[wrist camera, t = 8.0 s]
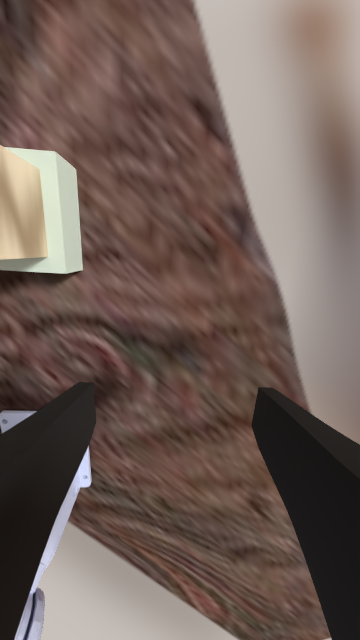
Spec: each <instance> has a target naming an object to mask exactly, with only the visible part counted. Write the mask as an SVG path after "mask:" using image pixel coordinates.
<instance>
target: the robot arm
mask: <svg viewBox="0 0 360 640" xmlns="http://www.w3.org/2000/svg"><path fill="white" fill-rule="evenodd" d="M6 420H7V421H6ZM95 424H96V415H95V399H94V383H84V382H79V383H77V384H76V385H74V386H73V387H71V388H70V389H68V390H67V391H65V392H64V393H63V394H61V395H60V396H58V397H57V398H55V399H54V400H53V401H51V402H50V403H48V404H47V405H45V406H44V407H42V408H41V409H40V410H38V411H12V410H4V411H2V412H1V413H0V426H1V430H2V434H0V640H40V638H41V634H42V628H43V621H44V606H45V600H44V593H43V591H42V590H41V589H40V588H37V586H38V583H39V581H40V578H41V576H42V573H43V572H44V570H45V569H46V568H47V566H48V565H49V563H50V562H51V560H52V558H53V556H54V554H55V552H56V550H57V547H58V545H59V542H60V539H61V537H62V534H63V532H64V529H65V526H66V524H67V521H68V518H69V516H70V513H71V510H72V508H73V505H74V502H75V500H76V497H77V495H78V492H79V489H80V487H88V486H90V484H91V469H90V456H89V443H90V440H91V437H92V434H93V430H94V427H95ZM252 428H253V432H254V435H255V438H256V441H257V444H258V447H259V450H260V452H261V454H262V456H263V459H264V461H265V463H266V465H267V468H268V470H269V472H270V474H271V476H272V478H273V481H274V483H275V485H276V487H277V489H278V491H279V494H280V496H281V498H282V500H283V502H284V505H285V507H286V509H287V511H288V514H289V516H290V519H291V521H292V524H293V526H294V529H295V532H296V535H297V537H298V540H299V543H300V546H301V548H302V551H303V554H304V557H305V560H306V563H307V565H308V568H309V571H310V574H311V577H312V580H313V583H314V586H315V589H316V592H317V595H318V598H319V601H320V604H321V607H322V610H323V613H324V616H325V619H326V623H327V626H328V629H329V632H330V635H331V638H332V640H360V445H359V444H357V443H356V442H354V441H352V440H351V439H349V438H347V437H346V436H344V435H343V434H341V433H340V432H338V431H336V430H335V429H333V428H332V427H330V426H328V425H327V424H325V423H324V422H322V421H321V420H319V419H318V418H316V417H315V416H313V415H312V414H310V413H309V412H308V411H306V410H305V409H303V408H302V407H300V406H299V405H297V404H296V403H295V402H293V401H292V400H290V399H289V398H287V397H286V396H284V395H283V394H281V393H280V392H278V391H277V390H275V389H273V388H263V387H259V388H258V394H257V399H256V404H255V409H254V415H253V420H252Z"/></svg>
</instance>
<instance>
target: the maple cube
mask: <svg viewBox="0 0 360 640" xmlns="http://www.w3.org/2000/svg"><path fill="white" fill-rule="evenodd" d="M38 257H48V248H47V238H46V228H45V218H44V208H43V198H42V188H41V178H40V169H38V168H36V167H35V166H33V165H32V164H30V163H28V162H27V161H25V160H24V159H22V158H20V157H19V156H17V155H15V154H14V153H12V152H11V151H9V150H7V149H6V148H4V147H3V146H1V145H0V260H1V259H20V258H38Z"/></svg>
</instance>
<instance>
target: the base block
mask: <svg viewBox="0 0 360 640" xmlns="http://www.w3.org/2000/svg"><path fill="white" fill-rule="evenodd" d="M4 148H6V149H7V150H9V151H11V152H12V153H14V154H15V155H17V156H19V157H20V158H22V159H24V160H25V161H27V162H28V163H30V164H32V165H33V166H35V167H36V168H38V169H40V178H41V188H42V198H43V208H44V218H45V228H46V238H47V248H48V257H38V258H20V259H1V260H0V270H8V271H26V272H44V273H62V274H67V273H72V272H76V271H81V270H83V265H82V250H81V235H80V220H79V205H78V190H77V175H76V169H75V168H74V167H73V166H72V165H70V164H69V163H68V162H67V161H66V160H65V159H63V158H62V157H61V156H60V155H59V154H58V153H56V152H54V151H42V150H30V149H19V148H7V147H4Z"/></svg>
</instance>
